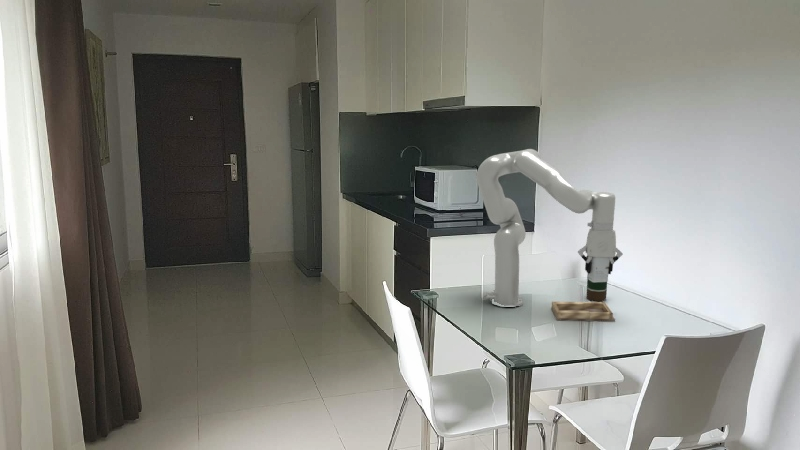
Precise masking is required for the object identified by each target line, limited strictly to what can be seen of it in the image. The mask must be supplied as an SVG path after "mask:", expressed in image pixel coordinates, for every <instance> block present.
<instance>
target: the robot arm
mask: <svg viewBox="0 0 800 450" xmlns="http://www.w3.org/2000/svg"><path fill="white" fill-rule="evenodd" d="M514 173H515V174H516V173H521V174H523V175H524V176H525V177H526V178H529V179H530V180H531V181H533V183H535V184H537V185H538V186H540V187H541V188H543V189H544V190H545V191H546V192H547V194H549V195H550V196H551V197H552V199H554V200H555V201H556V202H558V203H559V204H561V205H562V206H563V207H565V208H566V209H568V210H569V211H571V212H573V213H575V214H581V215H582V214H584V213H586V212H588V211H589V210H592V214H591V215H592V217H591V222H587V227H590V228H589V230H588V234H587V236H586V237H587V238H586V243H585V245H584V246H583V247H581V248H580V249H579V250H578V251H577V254H578V255H579V256H580V257H581V259H583V261H584V262H585V264H584V265H585V266H584V267H585V268H584V270H585V272H586V273H587V275H588V274H589V273H590V267H591V263H590V260H591V259H592V257H600V258H609V260H610V262H609V273H608V275H611V274H612V272H613V268H614V264H615V263H616V262H617V261H618V260H619V259H620V258H621V257H622V256H623V252H622V251H621V250H620V249H619V248H618V247H617V236H616V230H614V219H615V209H616V208H615V207H616V196H615V194H614V193H611V192H607V191H606V192H604V191H603V192H602V191H600V192H597V191H593V190H588V189H581V190H577V189H576V188H575V187H573V186H572V185H571V184H569V183H568V182H567V181H566V180H565V179H564V178H563V176H562V174H561V172H560V171H559V170H558V169H557V168H556V167H554V166H553V165H551V164H550V163H548V162H547V161H546V160H544V159H542V157H541V154H540V153H539V152H538V150H535V149H533V148H527V149H523V150H517V151H516V150H515V151H511V152H504V153H503V152H502V153H498V154H494V155H491V156H489V157H486V159H485V160H483V162H482V163H481V164H480V165H479V166H478V169H477V173H476V182H477V186H478V189H479V191H480V194H481V198H482V202H483V204H484V207H485V211H486V213H487V216H488V219H489V221H490V222H491V223H493V224H494V225H497V226H500V228H499V229H498V230H497V231H496V232H495V235H494V239H493V245H494V290H493V291H491V292H482V296H483V298H486V300H491V299H494V302H497V303H499V304H501V305H504V306H519V307H521V306H522V305H523V300H522V298H519V293H520V287H519V286H520V280H519V279H520V251H519V246H520V245H521V244H522V243H523V242H524V241H525V239H526V229H525V225H524V222H523V220H522V216H521V214H520V211H519V208H518V206H517V204H516V203H515V201H514V200H512V198H510V197H506V195H505V194H504V193H505V192H504V189H503V187H502V185H501V183H500V182H499V178H500V177H502V176H505V175H509V174H510V175H511V174H514ZM584 252H585V253H584ZM585 254H586V256H585ZM521 304H522V305H521ZM520 305H521V306H520Z"/></svg>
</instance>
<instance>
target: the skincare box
mask: <svg viewBox="0 0 800 450" xmlns="http://www.w3.org/2000/svg"><path fill="white" fill-rule="evenodd" d="M609 262H610V260H609V258H600V257H592V259H591V260H590V263H591V267H590V273H589V274H588V273H587V276H588V280H590V281H591V282H607V283H608V281H609V274H608V273H609Z"/></svg>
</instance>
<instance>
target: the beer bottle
mask: <svg viewBox="0 0 800 450" xmlns="http://www.w3.org/2000/svg"><path fill="white" fill-rule="evenodd" d="M586 279H587V280H586V281H587V282H586V299H587V300H589V302H605V301H606V299H607V290H608V281H607V282H591V281H590V280H588V275H587V278H586Z"/></svg>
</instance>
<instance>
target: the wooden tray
mask: <svg viewBox="0 0 800 450" xmlns="http://www.w3.org/2000/svg"><path fill="white" fill-rule="evenodd" d="M550 308H551V309H550V310H551V311H552V313H553V315H554V318H555V320H556V322H557V321H561V322H563V321H565V322H567V321H569V322H570V321H571V322H572V321H573V322H616V318H614V313H613V312H612V310H611V309H610V307H609V306H608V304H607V303H606V302H605V301H602V302H595V301H551V307H550Z"/></svg>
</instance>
